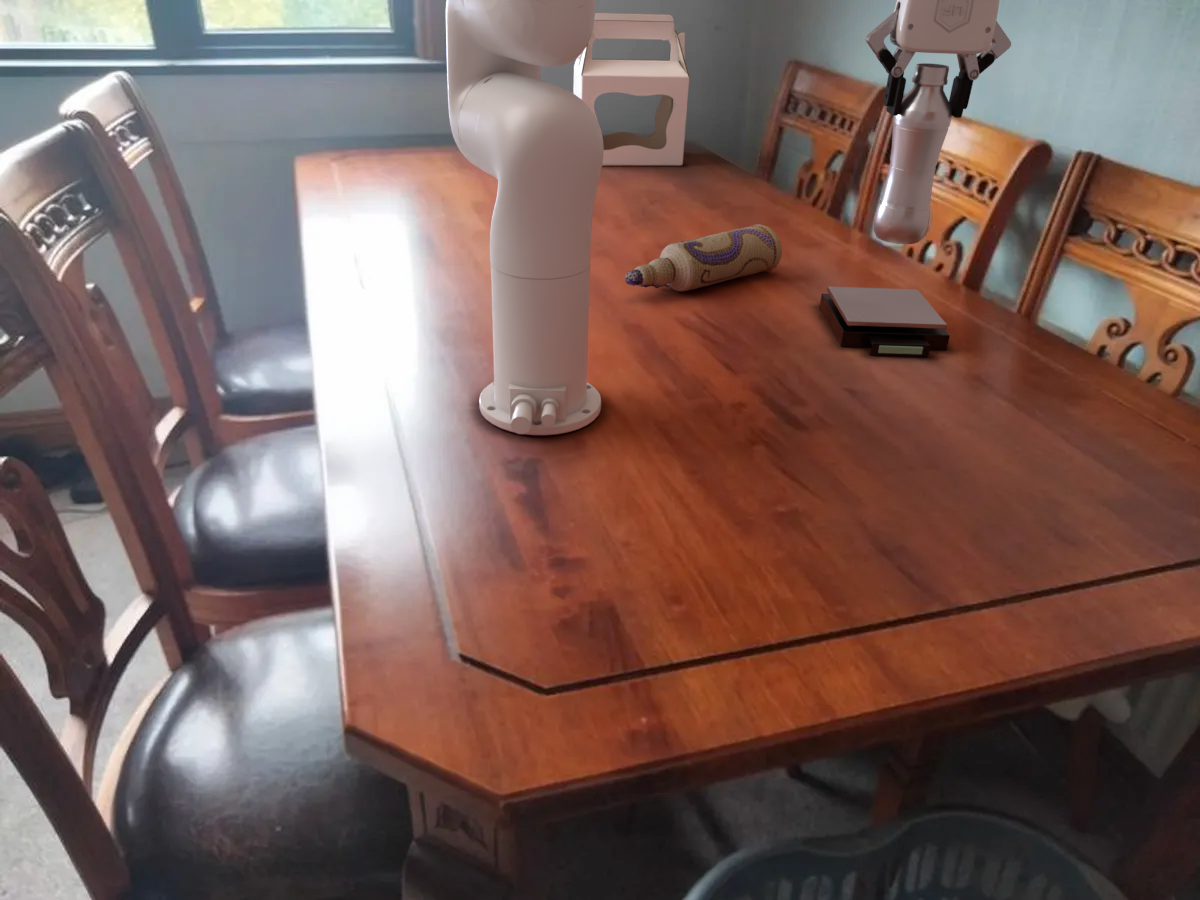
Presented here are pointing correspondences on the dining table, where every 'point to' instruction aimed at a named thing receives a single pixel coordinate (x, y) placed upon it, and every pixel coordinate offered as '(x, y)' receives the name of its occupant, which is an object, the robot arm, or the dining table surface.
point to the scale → (884, 321)
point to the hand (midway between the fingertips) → (923, 113)
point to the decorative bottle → (711, 259)
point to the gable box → (639, 88)
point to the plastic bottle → (914, 157)
